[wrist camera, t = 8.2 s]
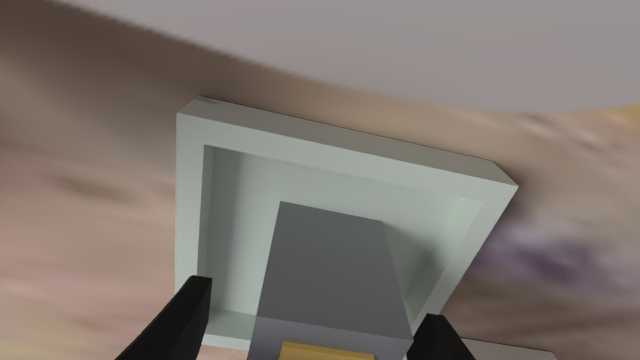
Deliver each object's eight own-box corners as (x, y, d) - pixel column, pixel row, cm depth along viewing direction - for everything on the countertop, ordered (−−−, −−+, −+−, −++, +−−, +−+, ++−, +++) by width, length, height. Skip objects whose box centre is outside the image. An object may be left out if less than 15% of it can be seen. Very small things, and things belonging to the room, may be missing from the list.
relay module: (356, 291, 14) (371, 424, 10) (264, 275, 14) (236, 407, 9) (385, 221, 12) (421, 347, 8) (280, 200, 12) (255, 321, 7)
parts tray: (398, 338, 17) (405, 373, 15) (189, 306, 16) (174, 340, 14) (497, 162, 12) (524, 187, 10) (198, 95, 11) (176, 112, 9)
